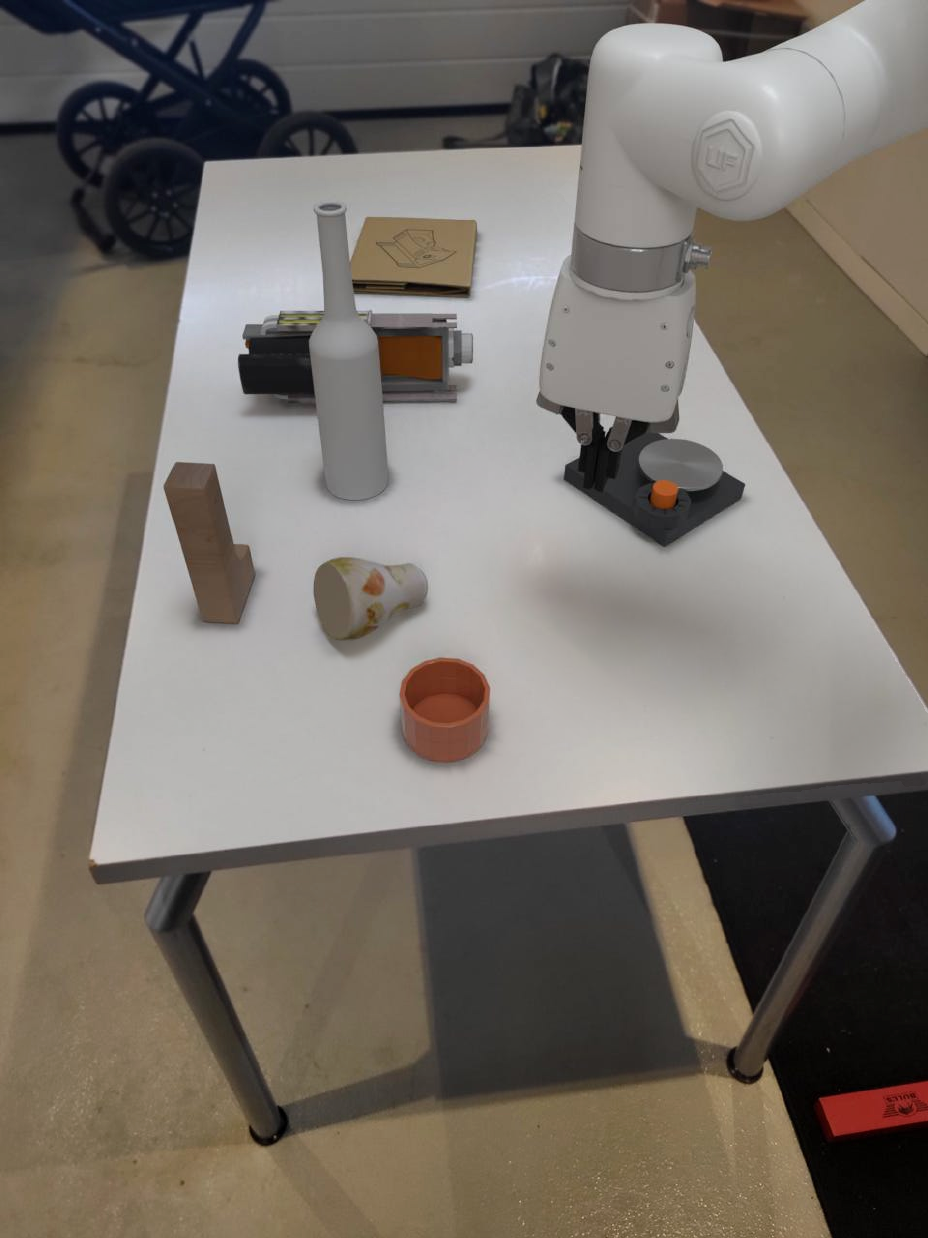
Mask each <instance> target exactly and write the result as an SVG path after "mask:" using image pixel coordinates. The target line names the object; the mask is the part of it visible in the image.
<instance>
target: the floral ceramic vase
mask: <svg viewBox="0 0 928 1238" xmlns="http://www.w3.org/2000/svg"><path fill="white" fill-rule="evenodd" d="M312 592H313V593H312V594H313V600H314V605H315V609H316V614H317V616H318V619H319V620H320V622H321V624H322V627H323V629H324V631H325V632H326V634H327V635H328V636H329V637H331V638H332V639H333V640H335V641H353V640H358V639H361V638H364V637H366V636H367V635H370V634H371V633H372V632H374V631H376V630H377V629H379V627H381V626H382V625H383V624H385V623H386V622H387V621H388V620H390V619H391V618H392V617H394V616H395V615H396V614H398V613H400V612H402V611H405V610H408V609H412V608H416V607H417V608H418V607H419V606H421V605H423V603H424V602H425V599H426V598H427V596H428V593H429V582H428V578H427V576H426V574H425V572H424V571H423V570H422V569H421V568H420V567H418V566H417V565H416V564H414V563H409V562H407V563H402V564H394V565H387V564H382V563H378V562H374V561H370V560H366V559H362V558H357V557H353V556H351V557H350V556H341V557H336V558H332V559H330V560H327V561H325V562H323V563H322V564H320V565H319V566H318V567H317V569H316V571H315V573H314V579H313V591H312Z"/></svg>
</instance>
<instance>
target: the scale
mask: <svg viewBox="0 0 928 1238" xmlns="http://www.w3.org/2000/svg"><path fill="white" fill-rule="evenodd" d="M665 439H669V438H668V437H666V436H664V435H663V434H662V433H650V432H646V433H644V434H643V435H641V436H639V437H638V438H636V439H634V440H632V441H631V442H629V443H627V444H625V445H623V447H622V452H621V458H620V465H619V469H618V473H617V476H616V478H615V479H611V478H608V480H607V482H606V485H605V487H604V490H603V492H598V491H596V489H594V485H593V488H590V489H584V488H583V481H584V473H583V472H578V465H579V457H578V458H576V459H574V460H572V461H570V462H568V463H566V464H565V465H564V471H563V472H564V473H563V481H565V482H567V483H569V485H571V486H573V487H574V488H576V489H577V490H579V491H580V492H581V493H583V494H585V495H586V496H588V497H589V498H591V499H592V500H594V501H596V502H597V503H598V504H600V505H601V506H603V508H606V509H607V510H608V511H610V512H612V513H613V514H614V515H616V516H618V517H619V518H621V519H622V520H624V521H625V522H627V523H628V524H629V525H631V526H632V527H634V528H635V529H637V530H638V531H640V532H642V533H643V534H644V535H646V536H647V537H649V538H650V539H652V540H653V541H655V542H656V543H658V544H660V545H661V546H662V547H666V546H668V545H670V544H671V543H673V542H674V541H676V540H678V539H679V538H682V537H683V536H684V535H685V534H687V533H689V532H691V531H692V530H694V529H695V528H697V527H698V526H700V525H702V524H703V523H705V522H706V521H708V520H709V519H711V518H712V517H714V516H716V515H717V514H719V513H721V512H722V511H724V510H726V509H727V508H729V507H730V506H732V505H733V504H735V503H736V502H738V501H740V500H741V499H742V498H743V495H744V491H745V488H746V483H745V482H743V481H741V480H739V479H738V478H736V477H735V476H733V475H731V474H730V473H728V472H726V471H724V470H723V473H722V476H721V478H720V479H719V481H718V482H717V483H716V484H714V485H713V486H711V487H709V488H706V489H703V490H698V491H678V493H677V498H676V502H675V505H674V506H673V507H672V508H668V509H663V508H658V507H655V506H653V505H652V504H651V502H650V498H651V493H652V488H653V485H654V483H653V482H652V481H650V480H649V479H648V478H647V477H645V476H644V474H643V473H642V472H641V470H640V468H639V465H638V459H639V455H640V453H641V451H642V450H643V449H644V448H645V447H646V446H647V445H649V444H651V443H653V442H656V441H659V440H665Z"/></svg>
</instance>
